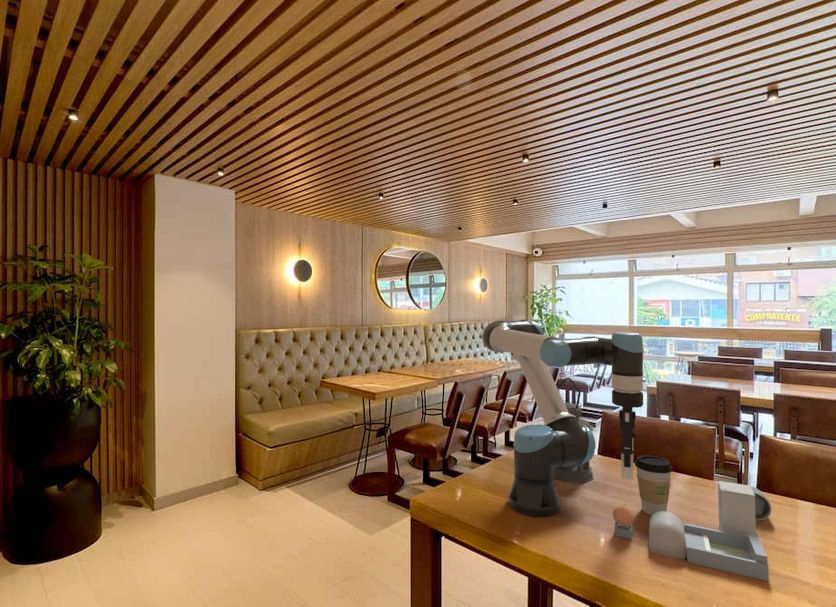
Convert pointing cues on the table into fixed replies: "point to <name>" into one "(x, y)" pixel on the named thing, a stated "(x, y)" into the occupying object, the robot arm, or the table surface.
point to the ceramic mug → (761, 505)
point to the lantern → (583, 470)
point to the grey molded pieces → (704, 545)
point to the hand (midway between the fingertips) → (627, 469)
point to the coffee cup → (653, 482)
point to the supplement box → (736, 508)
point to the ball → (623, 515)
